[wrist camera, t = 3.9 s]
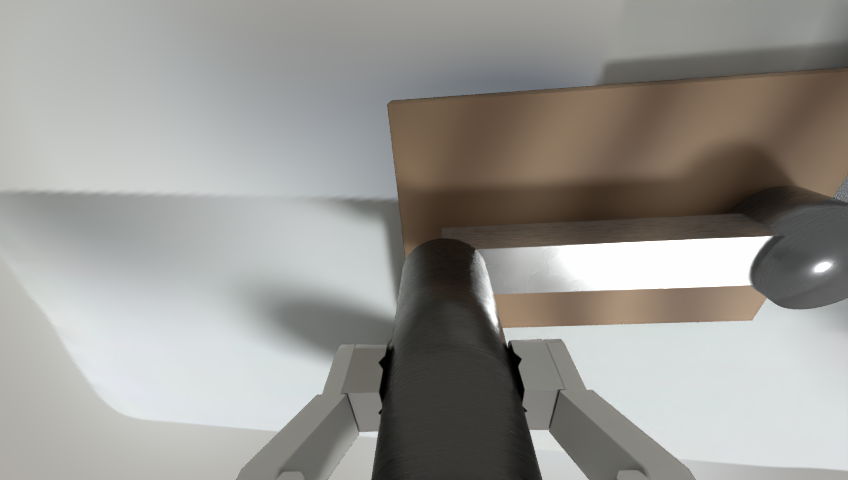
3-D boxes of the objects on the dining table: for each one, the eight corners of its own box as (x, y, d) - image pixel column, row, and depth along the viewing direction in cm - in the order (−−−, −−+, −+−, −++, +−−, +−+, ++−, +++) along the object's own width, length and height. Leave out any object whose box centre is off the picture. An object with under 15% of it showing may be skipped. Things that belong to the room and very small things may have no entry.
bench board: (869, 65, 13) (919, 66, 11) (730, 302, 19) (752, 320, 18) (391, 100, 14) (387, 104, 12) (415, 313, 20) (414, 330, 19)
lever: (839, 182, 13) (1775, 456, 4) (785, 266, 15) (1304, 563, 6) (401, 205, 14) (346, 464, 5) (410, 280, 16) (383, 553, 7)
